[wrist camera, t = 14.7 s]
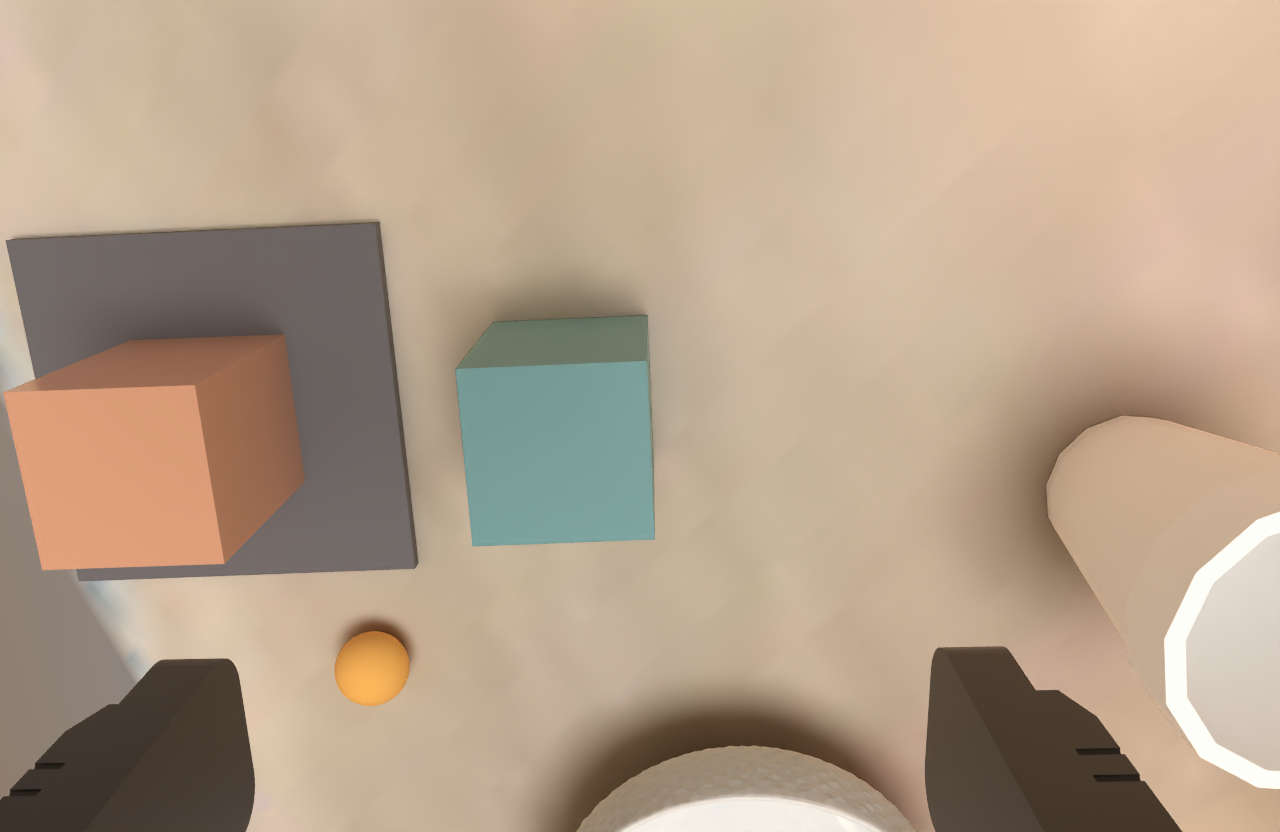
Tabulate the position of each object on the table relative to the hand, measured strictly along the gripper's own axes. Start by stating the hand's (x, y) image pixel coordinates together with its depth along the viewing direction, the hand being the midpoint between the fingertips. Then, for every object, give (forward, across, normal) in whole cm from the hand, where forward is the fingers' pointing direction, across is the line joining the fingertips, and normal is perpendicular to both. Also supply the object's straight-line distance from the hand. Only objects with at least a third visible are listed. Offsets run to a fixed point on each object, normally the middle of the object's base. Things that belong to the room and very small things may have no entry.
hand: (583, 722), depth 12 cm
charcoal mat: (+28, +16, +4) cm, 33 cm away
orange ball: (+28, +11, +15) cm, 34 cm away
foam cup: (+29, -20, +8) cm, 36 cm away
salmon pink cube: (+28, +16, +4) cm, 33 cm away
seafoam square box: (+28, +2, +4) cm, 29 cm away
